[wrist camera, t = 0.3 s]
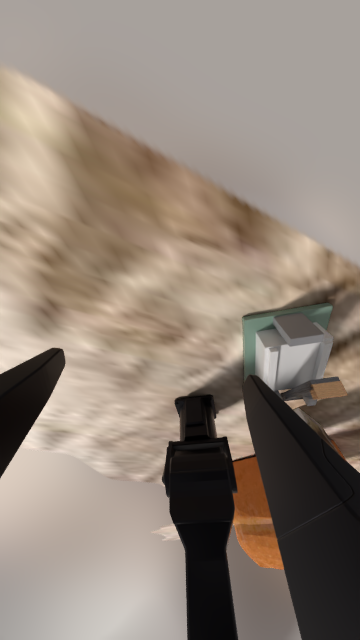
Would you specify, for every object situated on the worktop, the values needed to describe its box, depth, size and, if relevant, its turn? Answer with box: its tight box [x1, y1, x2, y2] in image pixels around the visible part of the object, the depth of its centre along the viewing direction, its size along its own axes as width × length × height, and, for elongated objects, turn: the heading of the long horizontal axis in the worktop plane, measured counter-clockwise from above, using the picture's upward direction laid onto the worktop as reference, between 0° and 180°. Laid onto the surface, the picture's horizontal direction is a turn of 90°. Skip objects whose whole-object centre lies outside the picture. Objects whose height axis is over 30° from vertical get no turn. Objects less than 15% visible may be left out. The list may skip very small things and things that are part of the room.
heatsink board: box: [242, 303, 334, 406], centre depth 24 cm, size 13×10×5 cm
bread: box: [233, 440, 345, 570], centre depth 39 cm, size 14×26×16 cm, turn 122°
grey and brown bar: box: [280, 377, 348, 401], centre depth 21 cm, size 10×2×2 cm, turn 11°
